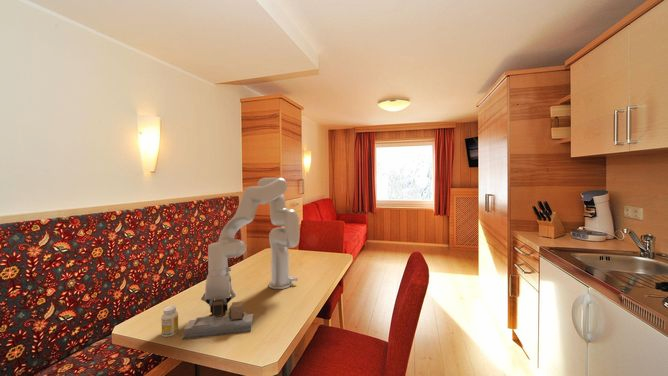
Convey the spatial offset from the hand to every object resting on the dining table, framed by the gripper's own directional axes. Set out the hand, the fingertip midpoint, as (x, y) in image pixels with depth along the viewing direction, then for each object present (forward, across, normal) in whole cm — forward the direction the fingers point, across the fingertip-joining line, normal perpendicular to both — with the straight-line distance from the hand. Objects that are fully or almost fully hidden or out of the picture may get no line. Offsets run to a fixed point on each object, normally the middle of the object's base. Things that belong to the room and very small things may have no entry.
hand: (219, 312), depth 112 cm
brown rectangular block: (+1, 0, 0) cm, 1 cm away
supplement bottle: (+1, +15, +11) cm, 19 cm away
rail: (0, -3, +12) cm, 12 cm away
